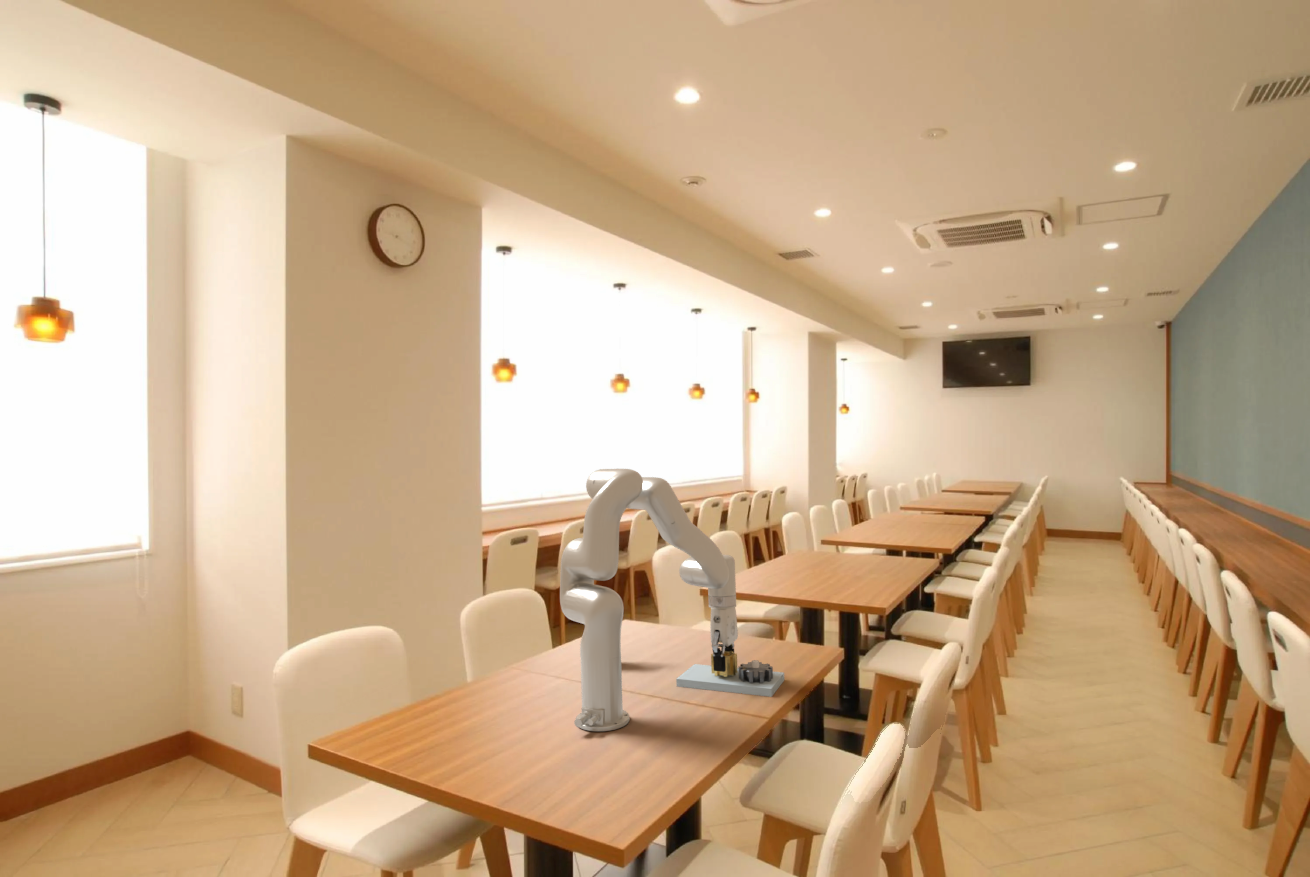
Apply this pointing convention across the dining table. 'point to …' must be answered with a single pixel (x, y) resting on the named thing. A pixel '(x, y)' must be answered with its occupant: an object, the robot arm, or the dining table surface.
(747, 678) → the steel gear
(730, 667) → the brass gear
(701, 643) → the dining table surface
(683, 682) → the board
